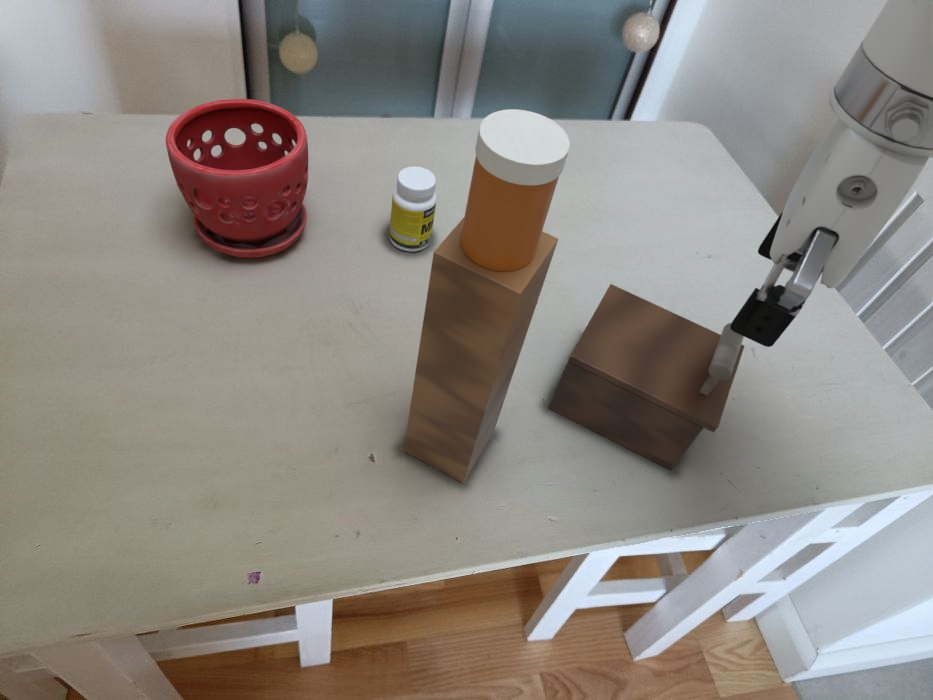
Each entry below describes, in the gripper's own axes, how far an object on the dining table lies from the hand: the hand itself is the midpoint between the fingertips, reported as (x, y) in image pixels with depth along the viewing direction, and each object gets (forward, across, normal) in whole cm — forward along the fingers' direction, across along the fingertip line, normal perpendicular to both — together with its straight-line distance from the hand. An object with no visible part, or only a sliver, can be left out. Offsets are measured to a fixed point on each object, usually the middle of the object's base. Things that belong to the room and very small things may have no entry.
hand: (763, 295), depth 53 cm
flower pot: (+18, -2, +49) cm, 52 cm away
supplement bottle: (+18, +7, +34) cm, 39 cm away
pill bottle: (-6, -14, +18) cm, 23 cm away
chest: (+18, 0, +5) cm, 19 cm away
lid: (+11, 0, +5) cm, 12 cm away
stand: (+18, -14, +18) cm, 29 cm away
